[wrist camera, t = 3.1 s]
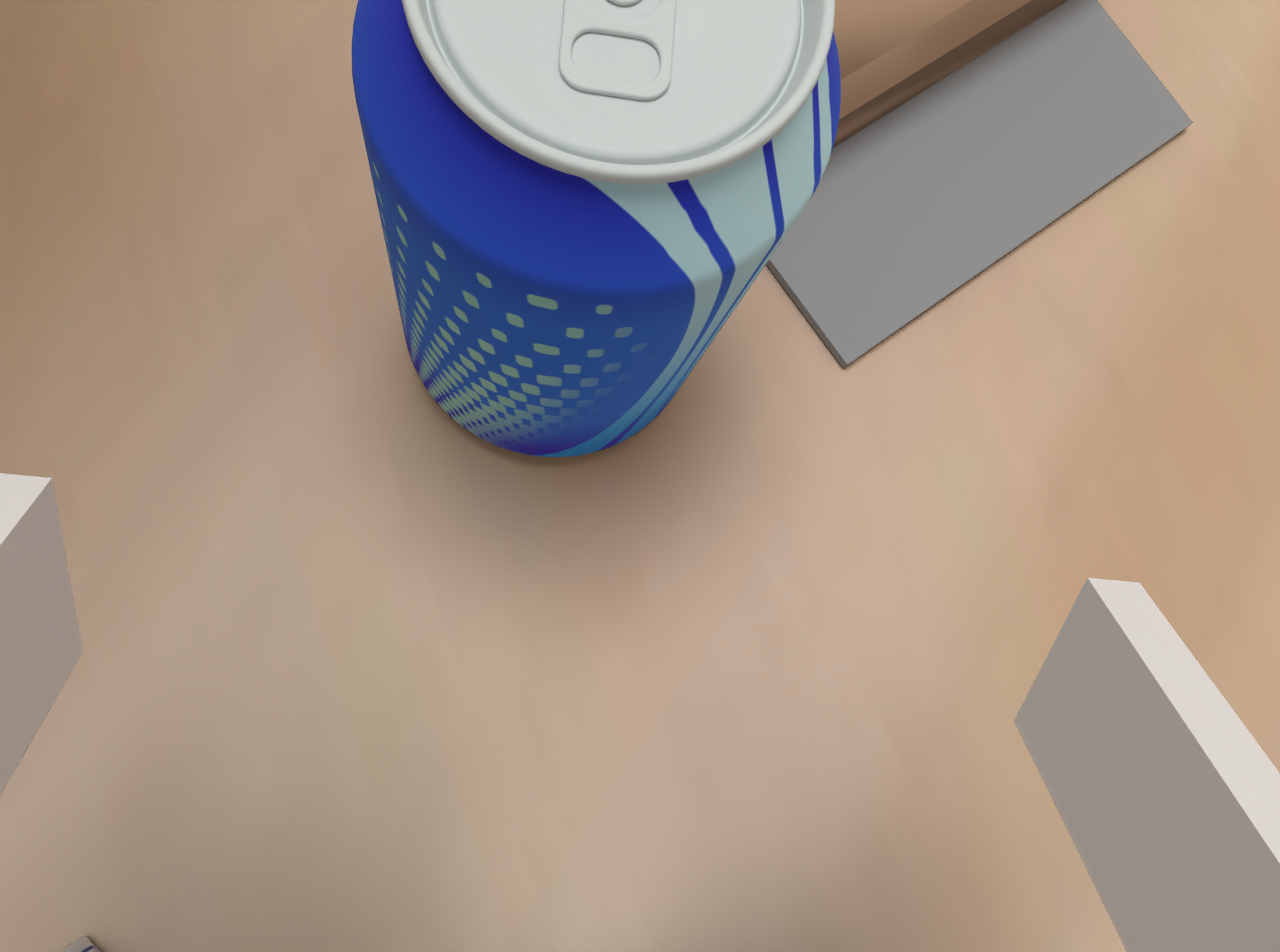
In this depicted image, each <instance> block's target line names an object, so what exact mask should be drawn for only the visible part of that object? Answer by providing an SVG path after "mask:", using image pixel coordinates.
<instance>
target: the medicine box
mask: <svg viewBox="0 0 1280 952" xmlns="http://www.w3.org/2000/svg"><path fill="white" fill-rule="evenodd" d="M60 952H100V951H99V950H98V949H97V948H96V947H95V946H94V945H93V944H92V943H91V941H90V940H89V939H88V938H87V937H85V936H83V937H80V938H79V939H78V940H76V941H75V942H73V943H72V944H70V945H69V946H67V947H66V948H64V949H63V950H61V951H60Z"/></svg>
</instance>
